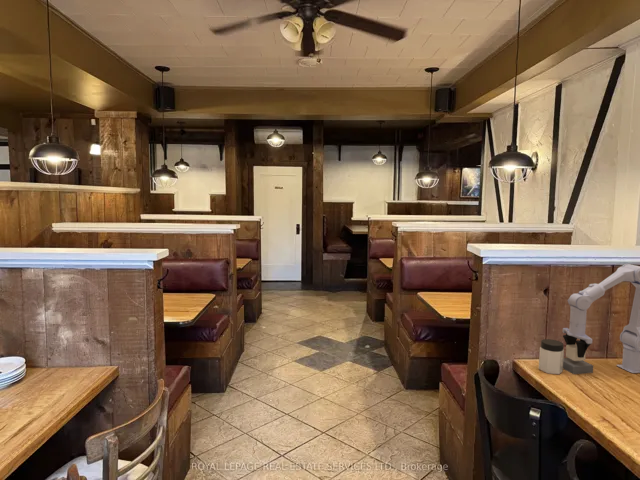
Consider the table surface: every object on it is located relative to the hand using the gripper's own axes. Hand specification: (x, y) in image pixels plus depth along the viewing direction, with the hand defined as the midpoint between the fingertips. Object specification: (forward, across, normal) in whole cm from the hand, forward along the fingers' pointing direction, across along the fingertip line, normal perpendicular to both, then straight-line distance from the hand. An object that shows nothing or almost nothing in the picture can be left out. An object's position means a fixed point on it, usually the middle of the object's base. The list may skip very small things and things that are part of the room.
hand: (575, 354), depth 174 cm
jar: (+6, 0, -11) cm, 13 cm away
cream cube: (+2, 0, 0) cm, 2 cm away
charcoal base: (+7, 0, 0) cm, 7 cm away
